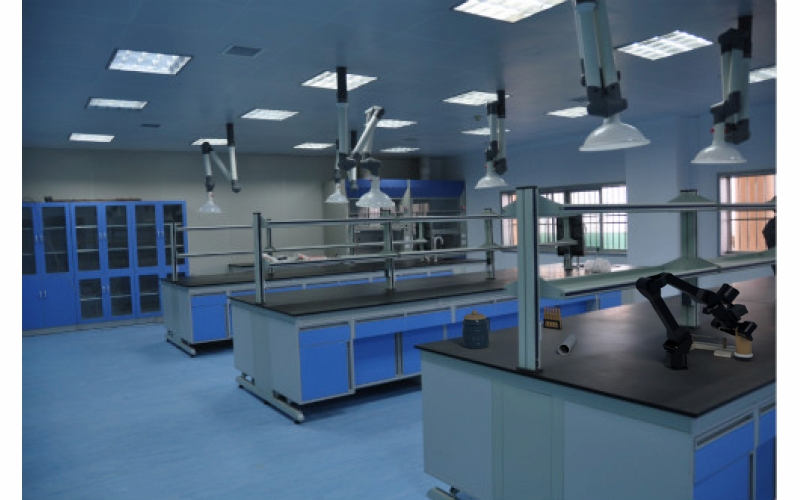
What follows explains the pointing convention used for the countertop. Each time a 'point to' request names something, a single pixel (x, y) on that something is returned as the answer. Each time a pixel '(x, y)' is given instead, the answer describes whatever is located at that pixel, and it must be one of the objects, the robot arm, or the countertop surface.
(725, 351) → the grey piece
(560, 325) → the ammunition clip
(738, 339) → the lidded paper cup
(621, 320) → the countertop surface
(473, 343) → the canister
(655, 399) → the countertop surface
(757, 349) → the countertop surface
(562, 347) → the tube
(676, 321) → the robot arm
